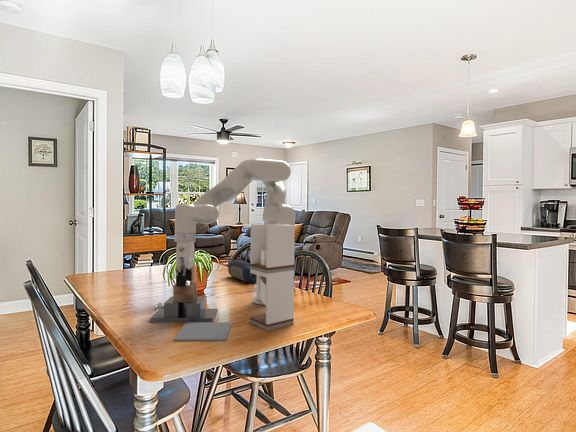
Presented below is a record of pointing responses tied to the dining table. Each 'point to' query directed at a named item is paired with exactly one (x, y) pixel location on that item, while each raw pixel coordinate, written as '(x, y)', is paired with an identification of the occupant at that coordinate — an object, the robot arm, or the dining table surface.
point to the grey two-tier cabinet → (274, 273)
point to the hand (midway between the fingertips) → (184, 283)
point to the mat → (204, 331)
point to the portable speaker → (241, 271)
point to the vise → (184, 311)
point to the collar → (185, 293)
